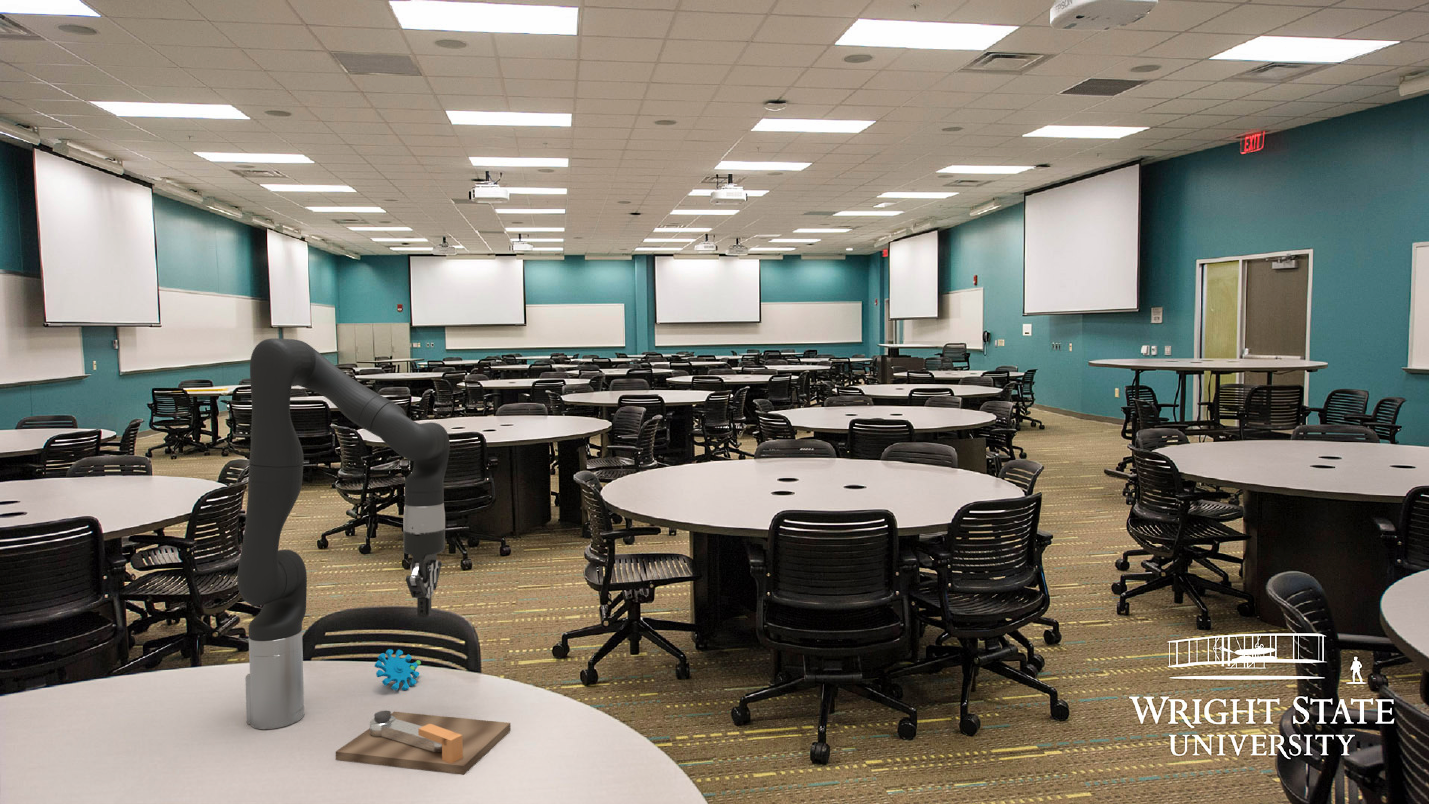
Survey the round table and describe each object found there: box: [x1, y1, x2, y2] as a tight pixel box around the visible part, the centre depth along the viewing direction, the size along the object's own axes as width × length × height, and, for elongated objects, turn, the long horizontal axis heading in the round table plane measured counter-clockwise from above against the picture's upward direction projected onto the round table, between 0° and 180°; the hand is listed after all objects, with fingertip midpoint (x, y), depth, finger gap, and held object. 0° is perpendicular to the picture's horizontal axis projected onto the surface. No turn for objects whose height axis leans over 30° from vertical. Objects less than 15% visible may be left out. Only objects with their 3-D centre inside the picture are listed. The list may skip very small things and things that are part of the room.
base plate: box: [335, 710, 512, 775], centre depth 146 cm, size 25×17×5 cm
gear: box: [374, 648, 422, 692], centre depth 175 cm, size 11×6×10 cm
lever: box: [369, 716, 442, 753], centre depth 145 cm, size 19×4×2 cm, turn 62°
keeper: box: [418, 724, 463, 764], centre depth 139 cm, size 9×2×4 cm, turn 57°
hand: (424, 616), depth 153 cm, fingers closed
